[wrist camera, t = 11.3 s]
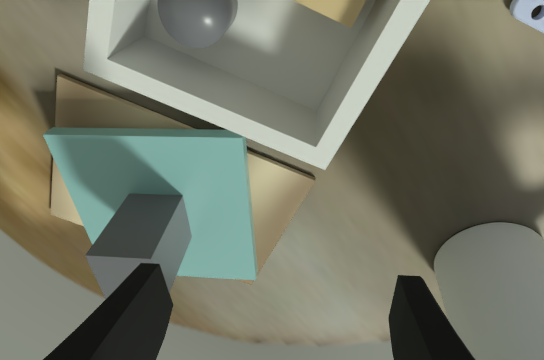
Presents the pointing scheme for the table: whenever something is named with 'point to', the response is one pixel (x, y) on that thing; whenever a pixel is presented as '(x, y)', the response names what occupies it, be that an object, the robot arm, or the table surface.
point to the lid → (160, 200)
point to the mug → (495, 290)
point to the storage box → (254, 62)
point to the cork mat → (123, 114)
